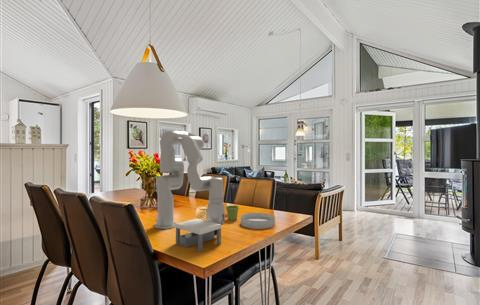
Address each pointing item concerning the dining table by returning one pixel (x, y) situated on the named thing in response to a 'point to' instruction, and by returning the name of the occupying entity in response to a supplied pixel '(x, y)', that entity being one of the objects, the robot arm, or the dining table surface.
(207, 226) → the low table
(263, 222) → the dish
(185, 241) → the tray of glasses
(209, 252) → the dining table surface
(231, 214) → the plant pot
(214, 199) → the robot arm
